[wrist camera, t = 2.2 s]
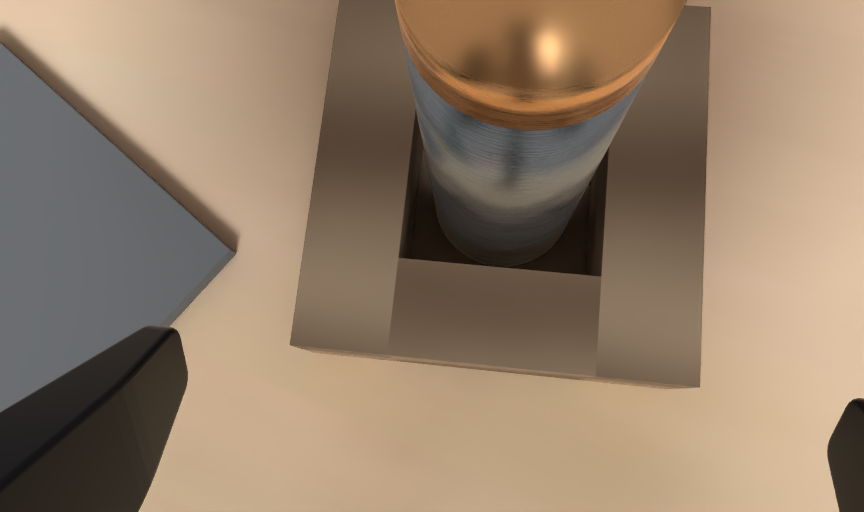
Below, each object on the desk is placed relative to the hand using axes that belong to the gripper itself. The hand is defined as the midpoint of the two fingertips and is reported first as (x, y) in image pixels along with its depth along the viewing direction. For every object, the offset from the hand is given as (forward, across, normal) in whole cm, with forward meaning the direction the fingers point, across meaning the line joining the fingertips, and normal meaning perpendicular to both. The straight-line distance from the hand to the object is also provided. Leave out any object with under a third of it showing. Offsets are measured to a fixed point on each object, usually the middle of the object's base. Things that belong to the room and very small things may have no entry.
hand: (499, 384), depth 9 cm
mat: (+10, +17, +7) cm, 21 cm away
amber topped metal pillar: (+13, 0, +4) cm, 14 cm away
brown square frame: (+13, 0, +4) cm, 14 cm away
